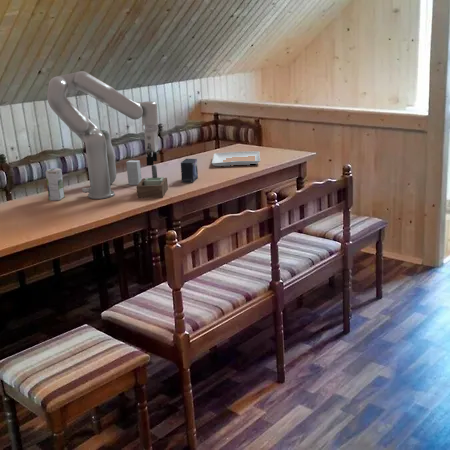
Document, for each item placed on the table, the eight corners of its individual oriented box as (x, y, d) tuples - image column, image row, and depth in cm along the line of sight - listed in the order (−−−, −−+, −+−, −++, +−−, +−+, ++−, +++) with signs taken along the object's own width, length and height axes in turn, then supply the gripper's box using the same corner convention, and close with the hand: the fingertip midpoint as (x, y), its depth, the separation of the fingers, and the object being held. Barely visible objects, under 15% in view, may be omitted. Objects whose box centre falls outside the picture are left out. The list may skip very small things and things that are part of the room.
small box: (193, 182, 319) (192, 162, 315) (181, 182, 320) (179, 162, 317) (198, 177, 328) (197, 158, 325) (186, 178, 330) (185, 158, 327)
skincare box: (142, 183, 324) (140, 160, 320) (139, 185, 320) (136, 162, 316) (131, 182, 325) (129, 160, 322) (128, 184, 321) (125, 162, 318)
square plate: (214, 158, 375) (213, 152, 374) (259, 156, 374) (259, 150, 373) (211, 168, 349) (211, 162, 348) (260, 166, 348) (260, 159, 347)
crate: (162, 190, 302) (160, 168, 299) (144, 191, 303) (142, 168, 300) (164, 186, 310) (162, 164, 306) (147, 187, 310) (145, 165, 307)
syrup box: (53, 197, 305) (49, 168, 300) (65, 197, 304) (61, 168, 299) (48, 200, 299) (44, 170, 295) (60, 200, 298) (56, 170, 294)
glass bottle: (93, 184, 326) (87, 131, 317) (110, 180, 332) (104, 128, 324) (104, 187, 319) (98, 132, 310) (121, 183, 326) (115, 129, 317)
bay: (162, 197, 294) (161, 185, 292) (137, 198, 294) (136, 186, 293) (167, 189, 309) (167, 177, 307) (143, 189, 310) (142, 178, 308)
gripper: (154, 130, 292) (156, 166, 297) (160, 125, 308) (162, 159, 313) (138, 130, 292) (140, 166, 297) (145, 125, 309) (147, 159, 314)
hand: (152, 163), depth 305 cm, fingers open, 9 cm apart
